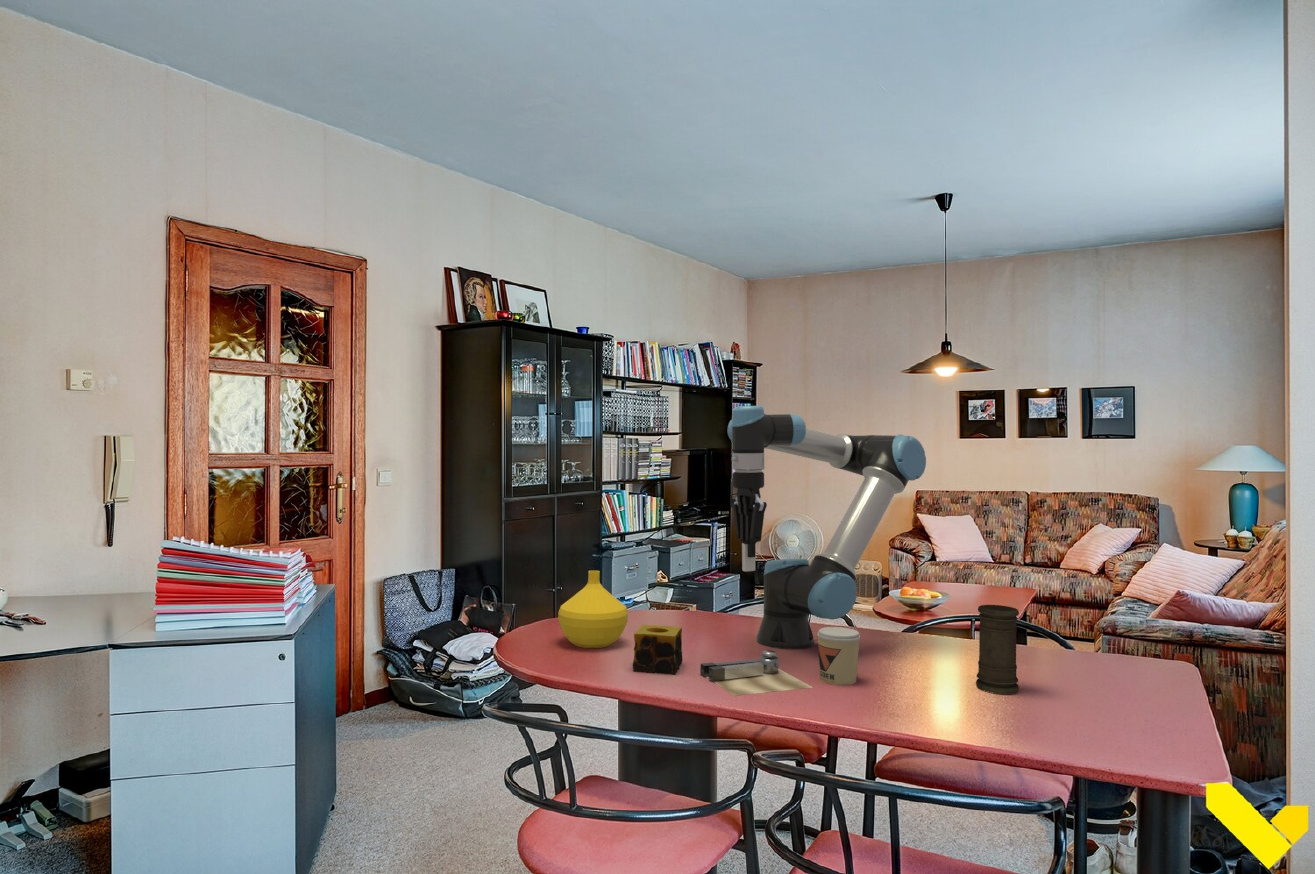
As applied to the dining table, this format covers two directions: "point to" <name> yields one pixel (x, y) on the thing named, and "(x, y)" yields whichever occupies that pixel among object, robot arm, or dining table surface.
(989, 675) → the container
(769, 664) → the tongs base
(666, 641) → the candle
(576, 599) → the vase
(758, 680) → the board
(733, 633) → the dining table surface
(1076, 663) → the dining table surface
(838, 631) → the coffee cup
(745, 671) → the bar
